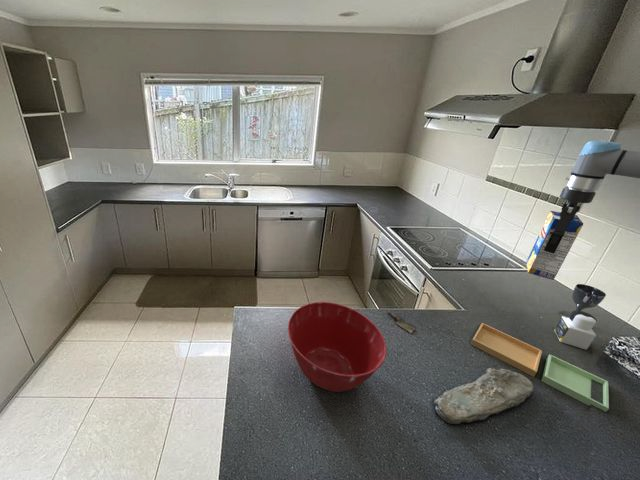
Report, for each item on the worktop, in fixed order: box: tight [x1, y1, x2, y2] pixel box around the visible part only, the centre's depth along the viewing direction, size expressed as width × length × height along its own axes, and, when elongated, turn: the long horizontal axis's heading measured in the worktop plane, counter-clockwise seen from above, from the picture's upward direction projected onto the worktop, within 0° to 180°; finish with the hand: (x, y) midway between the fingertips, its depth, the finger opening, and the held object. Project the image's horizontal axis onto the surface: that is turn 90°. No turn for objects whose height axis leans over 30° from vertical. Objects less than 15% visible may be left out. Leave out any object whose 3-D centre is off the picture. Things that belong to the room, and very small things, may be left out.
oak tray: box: [470, 322, 543, 378], centre depth 99 cm, size 17×13×2 cm
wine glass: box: [559, 283, 607, 318], centre depth 112 cm, size 8×8×15 cm
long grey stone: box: [433, 367, 534, 425], centre depth 81 cm, size 35×5×10 cm
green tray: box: [541, 353, 610, 413], centre depth 87 cm, size 13×13×2 cm
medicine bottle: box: [553, 309, 598, 350], centre depth 102 cm, size 7×7×12 cm
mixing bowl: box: [287, 301, 387, 393], centre depth 86 cm, size 28×28×15 cm
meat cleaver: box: [386, 310, 415, 334], centre depth 110 cm, size 12×1×5 cm
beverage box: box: [525, 210, 584, 281], centre depth 102 cm, size 7×11×22 cm, turn 141°
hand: (550, 247), depth 102 cm, fingers closed on beverage box, 11 cm apart
